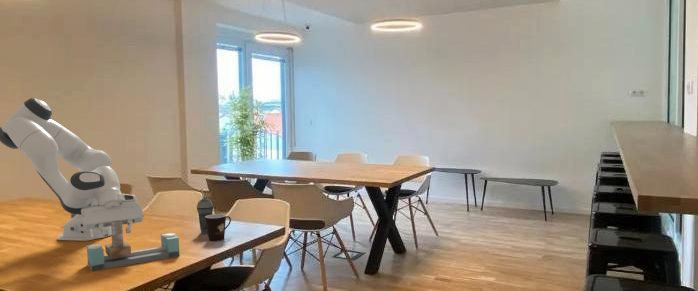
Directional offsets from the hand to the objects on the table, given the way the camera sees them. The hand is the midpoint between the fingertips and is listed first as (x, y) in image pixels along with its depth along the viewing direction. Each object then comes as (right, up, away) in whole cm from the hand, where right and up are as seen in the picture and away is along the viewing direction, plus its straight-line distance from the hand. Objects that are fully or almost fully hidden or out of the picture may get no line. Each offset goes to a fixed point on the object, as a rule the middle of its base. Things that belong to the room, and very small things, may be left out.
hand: (117, 233), depth 185 cm
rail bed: (+4, -11, +4) cm, 12 cm away
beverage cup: (+19, -8, +46) cm, 50 cm away
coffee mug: (+29, -8, +34) cm, 45 cm away
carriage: (0, -7, +1) cm, 7 cm away
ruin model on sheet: (-50, -8, +74) cm, 90 cm away
